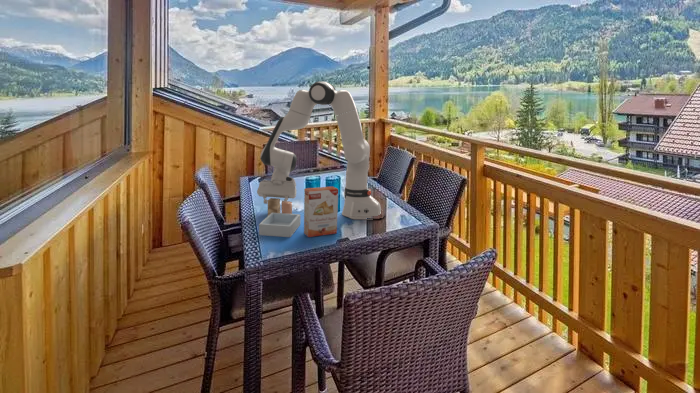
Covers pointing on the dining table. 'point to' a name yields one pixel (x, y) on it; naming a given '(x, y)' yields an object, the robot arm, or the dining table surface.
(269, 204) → the beech block
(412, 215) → the dining table surface
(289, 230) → the tote
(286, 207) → the brown rounded cylinder
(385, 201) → the dining table surface
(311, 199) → the cracker box
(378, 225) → the dining table surface
